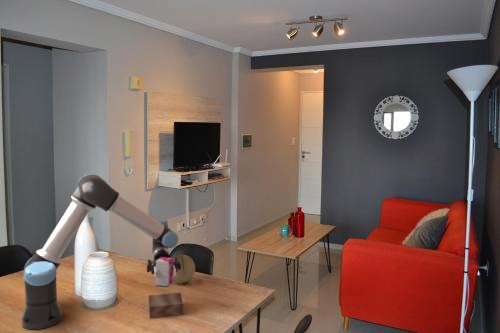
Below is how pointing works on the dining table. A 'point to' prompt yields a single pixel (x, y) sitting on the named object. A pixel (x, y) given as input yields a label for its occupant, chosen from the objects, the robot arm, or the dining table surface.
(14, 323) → the dining table surface
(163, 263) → the supplement box
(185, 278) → the cantaloupe
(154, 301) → the walnut block
